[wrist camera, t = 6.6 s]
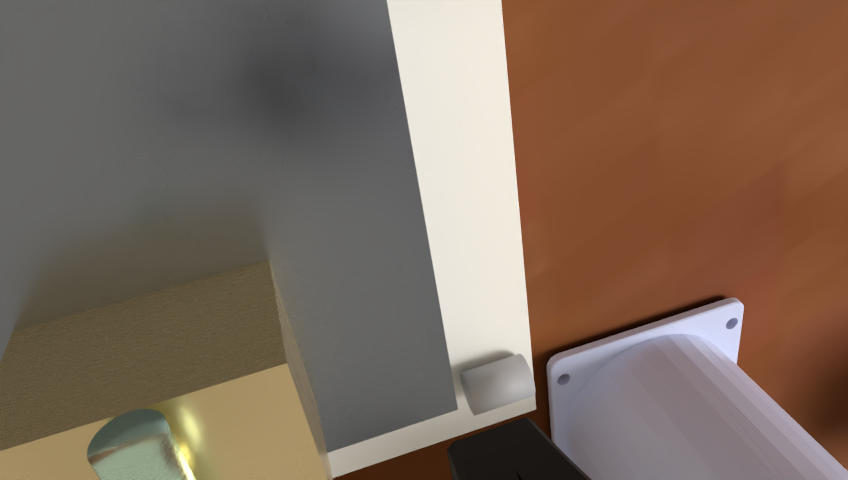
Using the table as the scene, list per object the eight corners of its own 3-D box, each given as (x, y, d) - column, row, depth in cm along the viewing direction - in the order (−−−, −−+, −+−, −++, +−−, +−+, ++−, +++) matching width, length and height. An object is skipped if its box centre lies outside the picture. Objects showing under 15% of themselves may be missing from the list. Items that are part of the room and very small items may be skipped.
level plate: (446, 384, 22) (529, 562, 16) (-9, 531, 20) (-89, 796, 14) (350, -142, 14) (449, -136, 8) (-433, 6, 12) (-992, 143, 6)
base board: (519, 381, 25) (553, 438, 23) (-57, 571, 22) (-89, 661, 19) (449, -302, 14) (500, -332, 12) (-700, -128, 11) (-947, -121, 9)
